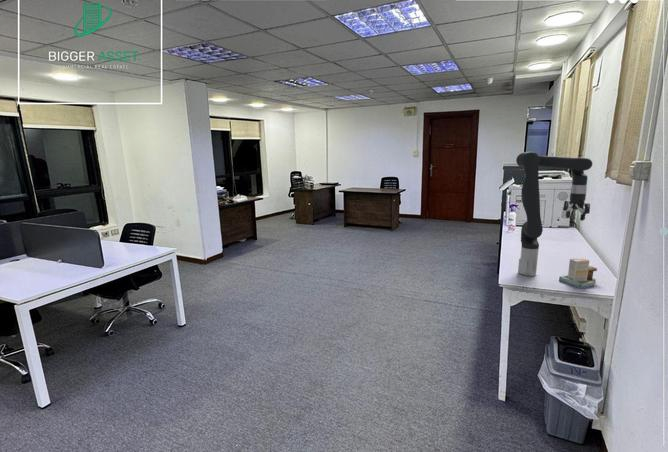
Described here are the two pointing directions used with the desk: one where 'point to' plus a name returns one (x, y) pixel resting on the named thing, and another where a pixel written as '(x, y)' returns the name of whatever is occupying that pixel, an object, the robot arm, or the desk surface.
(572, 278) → the supplement box
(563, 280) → the tray
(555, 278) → the desk surface
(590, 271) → the stool
